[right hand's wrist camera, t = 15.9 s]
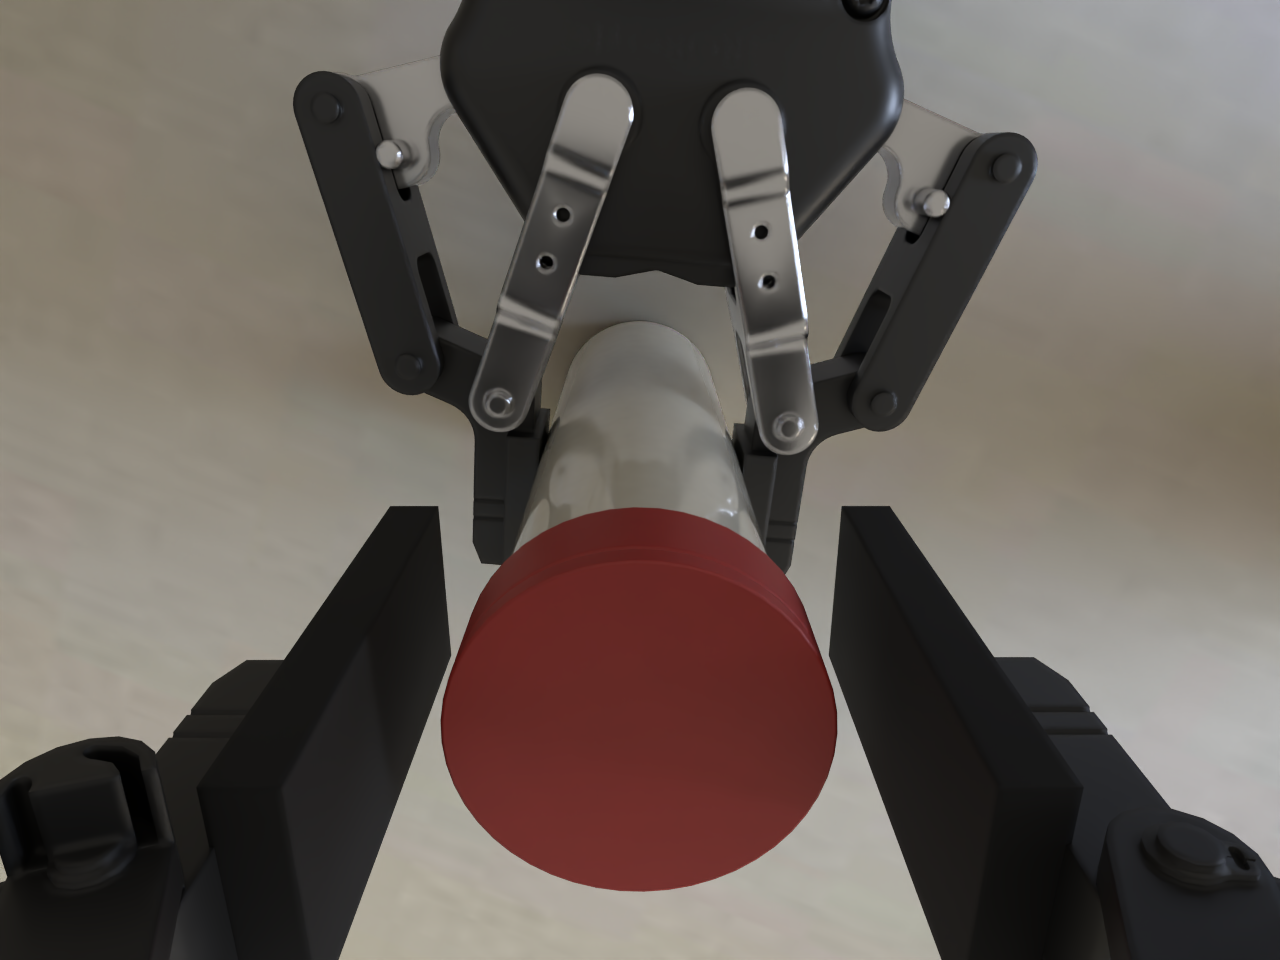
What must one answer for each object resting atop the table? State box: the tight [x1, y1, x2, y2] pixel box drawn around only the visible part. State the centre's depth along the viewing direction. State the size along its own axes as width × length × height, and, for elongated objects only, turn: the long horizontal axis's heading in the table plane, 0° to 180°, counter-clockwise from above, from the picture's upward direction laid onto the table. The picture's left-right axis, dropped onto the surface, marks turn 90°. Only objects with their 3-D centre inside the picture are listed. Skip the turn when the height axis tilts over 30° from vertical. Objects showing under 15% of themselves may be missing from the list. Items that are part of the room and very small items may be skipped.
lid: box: [441, 507, 837, 892], centre depth 11 cm, size 5×5×2 cm
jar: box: [511, 321, 768, 556], centre depth 18 cm, size 4×4×15 cm
